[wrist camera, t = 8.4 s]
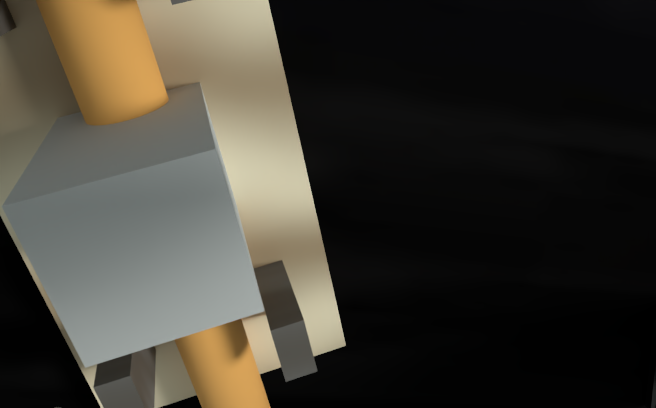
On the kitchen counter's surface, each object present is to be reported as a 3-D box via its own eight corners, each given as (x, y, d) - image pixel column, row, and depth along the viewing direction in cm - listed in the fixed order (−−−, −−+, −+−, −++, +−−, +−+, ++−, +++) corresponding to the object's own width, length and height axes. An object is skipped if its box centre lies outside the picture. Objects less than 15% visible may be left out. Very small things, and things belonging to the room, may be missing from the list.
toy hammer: (290, 384, 22) (330, 526, 16) (187, 419, 21) (194, 578, 16) (78, -326, 12) (7, -537, 7) (-121, -298, 11) (-368, -505, 6)
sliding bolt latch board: (339, 329, 22) (375, 412, 18) (111, 403, 21) (99, 509, 17) (162, -439, 12) (160, -619, 8) (-291, -388, 11) (-545, -572, 7)
